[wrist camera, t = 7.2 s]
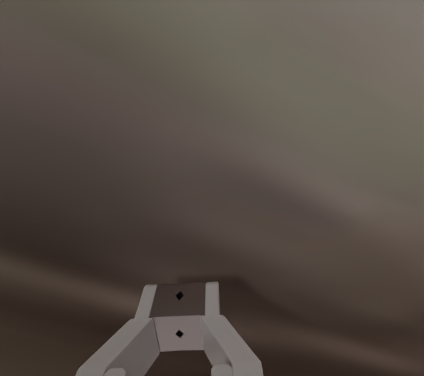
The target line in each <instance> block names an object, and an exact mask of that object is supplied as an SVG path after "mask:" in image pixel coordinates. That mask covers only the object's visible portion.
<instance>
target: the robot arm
mask: <svg viewBox="0 0 424 376" xmlns="http://www.w3.org/2000/svg"><path fill="white" fill-rule="evenodd" d="M179 350H204V352H205V354H206V355H207V357H208V359H209V361H210V363H211V365H212V366H213V367H212V369H211V376H263V370H262V364H261V361H260V360H259V359H258V358H257V356H256V355H255V354H254V353H253V351H252V350H251V349H250V348H249V346H248V345H247V344H246V343H245V341H244V340H243V339H242V338H241V336H240V335H239V334H238V333H237V331H236V330H235V329H234V328H233V326H232V325H231V324H230V323H229V321H228V320H227V319H226V318H225V316H224V315H220V300H219V283H218V282H202V283H183V284H156V285H145V287H144V289H143V292H142V295H141V298H140V302H139V305H138V308H137V311H136V315H135V318H134V319H130V320H129V321H128V322H127V323H126V324H125V325H124V326H122V327H121V328H120V329H119V330H118V331H117V332H116V333H115V334H114V335H113V336H112V337H111V338H110V339H109V340H108V341H107V342H106V343H105V344H104V345H103V346H101V347H100V348H99V349H98V350H97V351H96V352H95V353H94V354H93V355H92V356H91V357H90V358H89V359H88V360H87V361H86V362H85V363H84V364H83V365H82V366H80V367H79V368H78V371H77V373H76V375H75V376H144V375H145V374H146V373H147V371H148V370H149V368H150V367H151V365H152V364H153V363H154V361H155V360H156V358H157V357H158V355H159V354H160V352H164V351H179Z"/></svg>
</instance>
